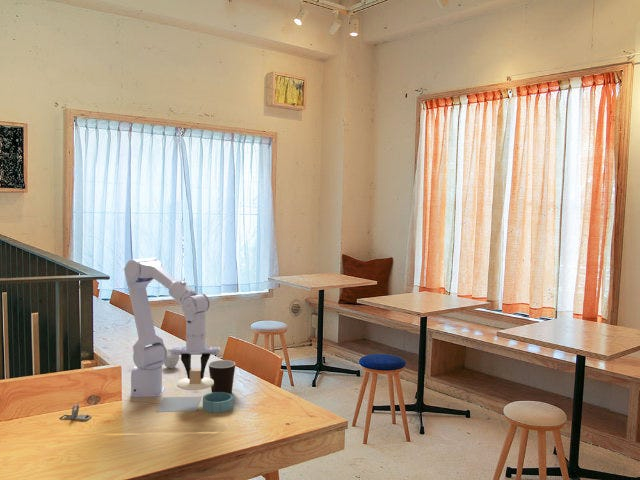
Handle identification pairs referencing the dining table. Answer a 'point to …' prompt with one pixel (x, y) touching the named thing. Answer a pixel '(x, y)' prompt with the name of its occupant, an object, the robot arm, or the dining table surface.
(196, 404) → the mat
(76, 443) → the dining table surface
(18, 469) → the dining table surface
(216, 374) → the coffee mug
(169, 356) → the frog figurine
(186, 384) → the lid
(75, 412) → the strap clip
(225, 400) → the bowl
